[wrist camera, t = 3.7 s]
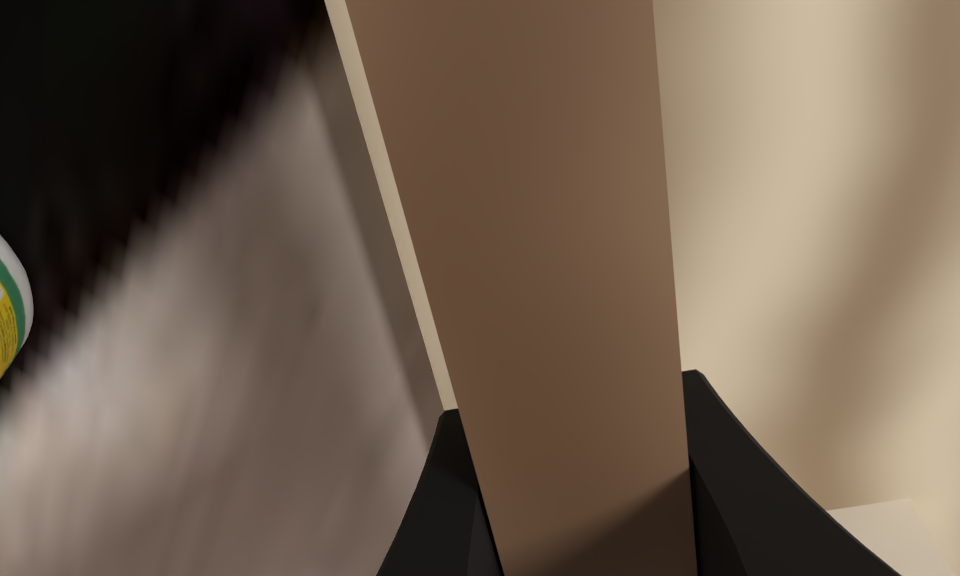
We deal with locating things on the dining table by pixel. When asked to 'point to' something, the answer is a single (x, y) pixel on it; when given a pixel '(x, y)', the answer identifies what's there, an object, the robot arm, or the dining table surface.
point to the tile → (895, 536)
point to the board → (801, 234)
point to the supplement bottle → (13, 306)
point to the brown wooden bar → (545, 266)
